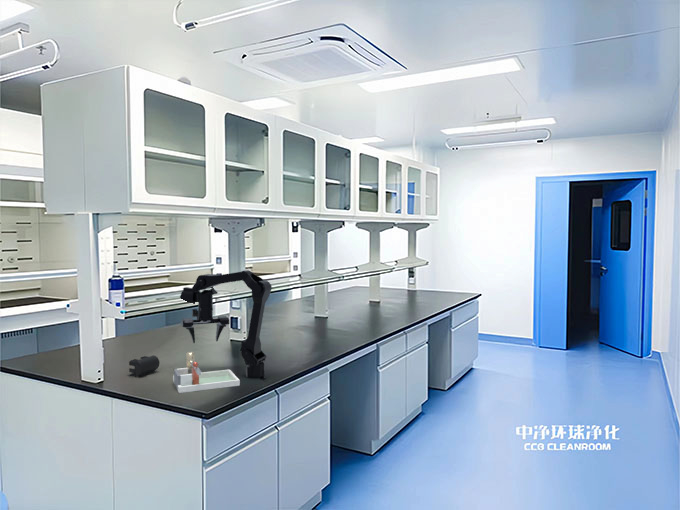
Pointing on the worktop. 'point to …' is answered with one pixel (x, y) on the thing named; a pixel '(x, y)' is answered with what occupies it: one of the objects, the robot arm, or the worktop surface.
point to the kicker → (193, 367)
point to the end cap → (143, 365)
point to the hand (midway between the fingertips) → (205, 342)
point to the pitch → (204, 380)
